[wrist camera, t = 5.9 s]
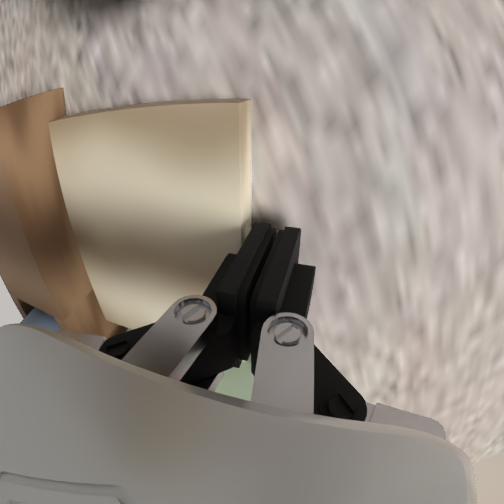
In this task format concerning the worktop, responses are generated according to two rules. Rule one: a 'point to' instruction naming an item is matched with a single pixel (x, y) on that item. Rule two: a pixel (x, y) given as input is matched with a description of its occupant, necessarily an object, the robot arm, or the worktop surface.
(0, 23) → the worktop surface
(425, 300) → the worktop surface
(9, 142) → the block
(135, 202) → the cream curved slab
